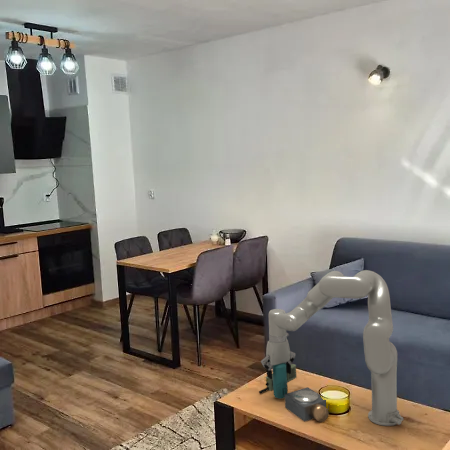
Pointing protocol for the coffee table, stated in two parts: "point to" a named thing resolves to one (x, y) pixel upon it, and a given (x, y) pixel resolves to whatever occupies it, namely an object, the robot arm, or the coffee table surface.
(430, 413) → the coffee table surface
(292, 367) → the handheld radio
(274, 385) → the beverage bottle
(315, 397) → the motor housing
